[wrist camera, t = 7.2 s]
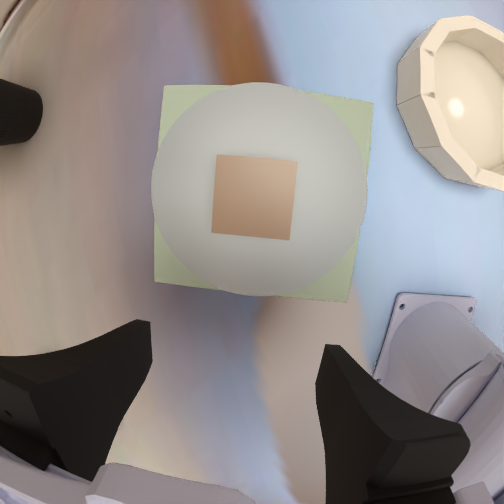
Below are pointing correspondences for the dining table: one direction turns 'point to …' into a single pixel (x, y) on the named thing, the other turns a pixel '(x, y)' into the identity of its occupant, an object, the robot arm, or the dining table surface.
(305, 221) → the cover
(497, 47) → the bowl
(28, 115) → the drinking cup
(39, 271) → the dining table surface
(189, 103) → the mat
